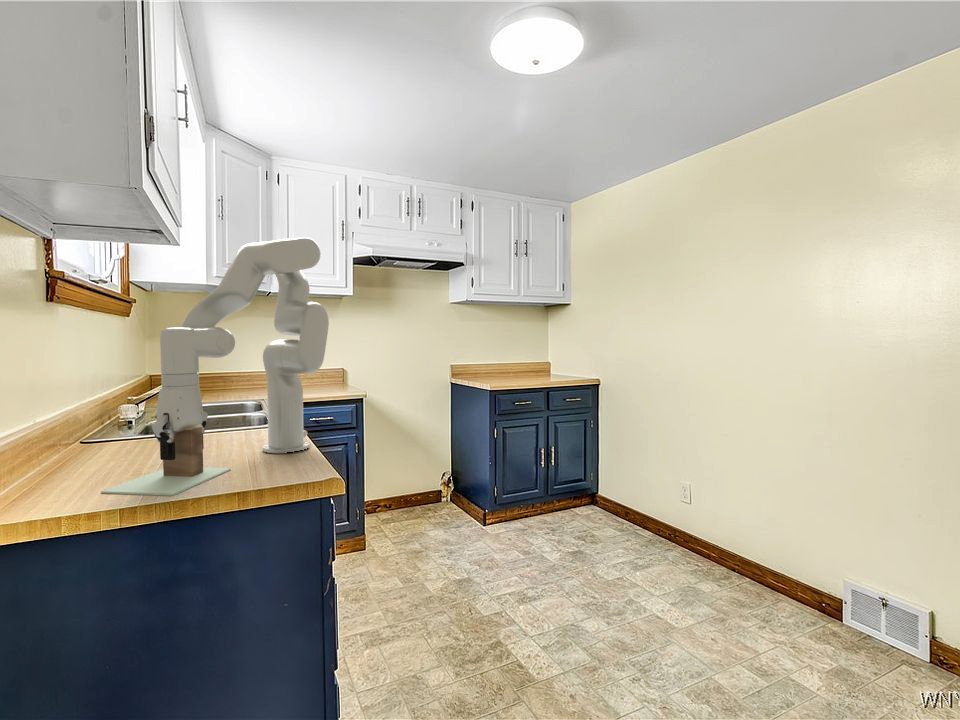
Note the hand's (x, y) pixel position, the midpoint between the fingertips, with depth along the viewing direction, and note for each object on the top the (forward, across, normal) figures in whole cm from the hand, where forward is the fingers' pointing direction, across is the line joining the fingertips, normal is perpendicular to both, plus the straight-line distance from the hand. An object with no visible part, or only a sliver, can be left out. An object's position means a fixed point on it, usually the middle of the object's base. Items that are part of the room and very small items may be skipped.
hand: (182, 454), depth 119 cm
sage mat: (+5, +4, 0) cm, 6 cm away
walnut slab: (+5, 0, 0) cm, 5 cm away
